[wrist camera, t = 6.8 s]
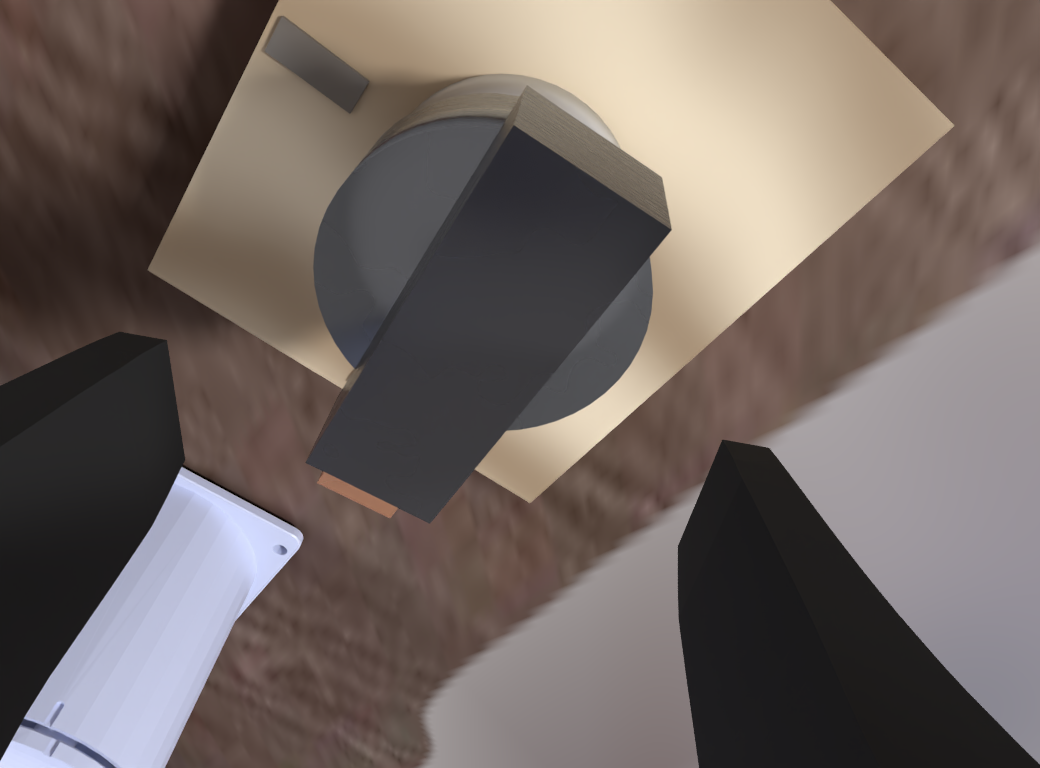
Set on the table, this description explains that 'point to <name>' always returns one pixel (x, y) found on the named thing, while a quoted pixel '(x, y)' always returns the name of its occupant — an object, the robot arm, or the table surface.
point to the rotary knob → (477, 290)
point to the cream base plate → (593, 101)
